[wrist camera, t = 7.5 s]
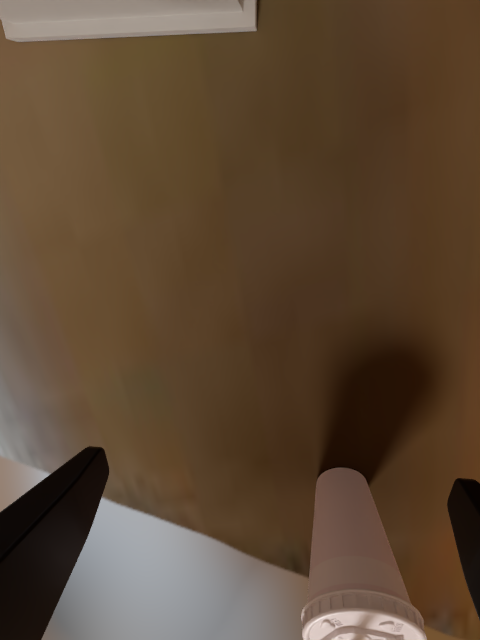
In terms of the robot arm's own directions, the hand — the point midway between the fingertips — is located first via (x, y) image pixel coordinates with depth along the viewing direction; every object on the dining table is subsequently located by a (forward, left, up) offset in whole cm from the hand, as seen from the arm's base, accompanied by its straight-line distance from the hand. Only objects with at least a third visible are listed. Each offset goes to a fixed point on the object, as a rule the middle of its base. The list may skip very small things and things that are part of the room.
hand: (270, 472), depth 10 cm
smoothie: (-5, +16, -13) cm, 21 cm away
